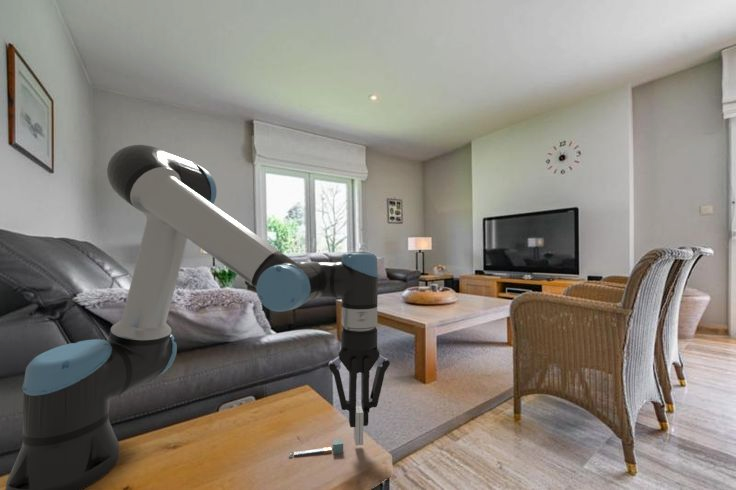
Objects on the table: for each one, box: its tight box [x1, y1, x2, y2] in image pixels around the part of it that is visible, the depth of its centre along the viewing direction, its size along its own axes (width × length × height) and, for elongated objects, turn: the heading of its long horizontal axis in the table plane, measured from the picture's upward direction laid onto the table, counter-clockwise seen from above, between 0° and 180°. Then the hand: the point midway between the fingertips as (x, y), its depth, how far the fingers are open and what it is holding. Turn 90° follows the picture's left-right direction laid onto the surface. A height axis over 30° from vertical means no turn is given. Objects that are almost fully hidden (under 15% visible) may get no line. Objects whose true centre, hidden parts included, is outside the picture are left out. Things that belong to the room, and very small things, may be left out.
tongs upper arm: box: [288, 446, 333, 459], centre depth 61 cm, size 8×1×1 cm, turn 100°
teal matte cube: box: [332, 438, 344, 455], centre depth 62 cm, size 2×2×3 cm
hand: (358, 441), depth 63 cm, fingers closed
